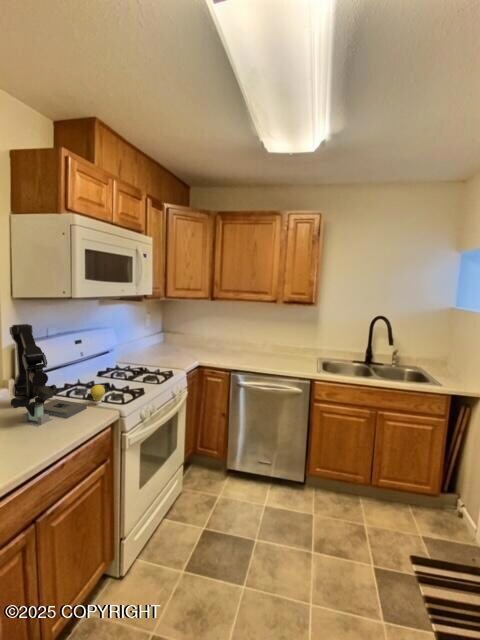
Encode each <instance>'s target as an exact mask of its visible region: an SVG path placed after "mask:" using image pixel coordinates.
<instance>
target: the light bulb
mask: <svg viewBox="0 0 480 640" xmlns="http://www.w3.org/2000/svg"><path fill="white" fill-rule="evenodd" d="M105 393H106V389H105V386H103V385H102V384H95V385H94V386H92V387H91V389H90V396H91V397H92V398H93V399H94V405H95V404H96V405H95V406H100V405H99V404H101V403H102V398H103V397H104V395H105ZM101 405H102V404H101Z"/></svg>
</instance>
